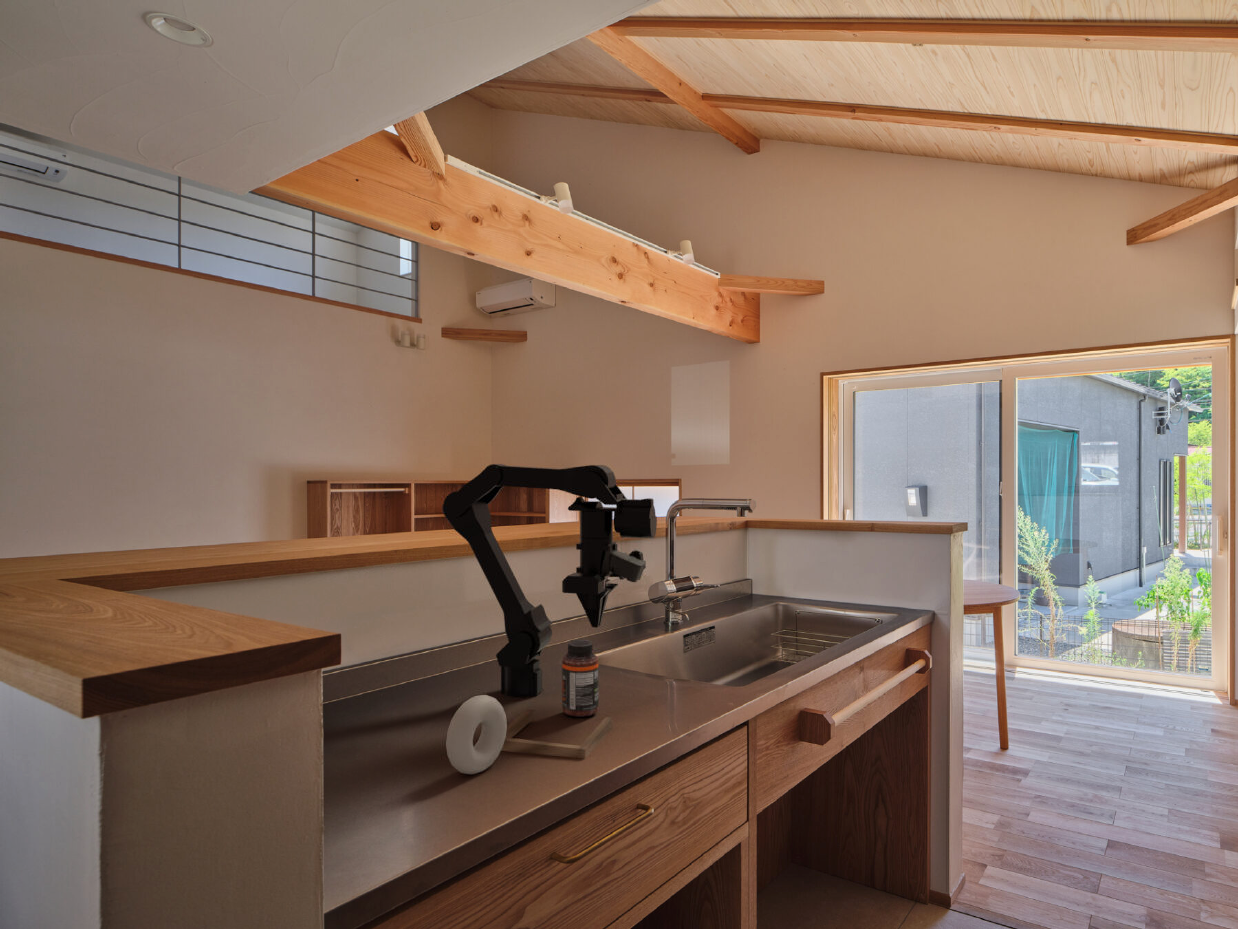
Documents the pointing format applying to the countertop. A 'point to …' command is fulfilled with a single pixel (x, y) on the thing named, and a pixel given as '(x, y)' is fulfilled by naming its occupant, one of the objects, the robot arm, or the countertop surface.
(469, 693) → the countertop surface
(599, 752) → the countertop surface
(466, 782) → the countertop surface
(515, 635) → the robot arm
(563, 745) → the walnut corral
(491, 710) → the donut
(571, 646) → the supplement bottle
